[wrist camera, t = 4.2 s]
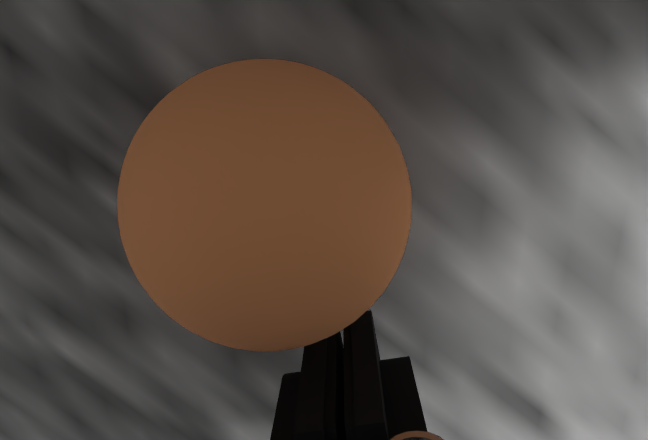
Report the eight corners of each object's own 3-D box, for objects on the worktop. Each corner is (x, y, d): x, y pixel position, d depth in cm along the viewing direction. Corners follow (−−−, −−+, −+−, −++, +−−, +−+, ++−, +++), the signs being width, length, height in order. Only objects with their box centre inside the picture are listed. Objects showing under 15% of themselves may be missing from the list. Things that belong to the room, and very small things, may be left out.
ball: (210, 391, 10) (205, 190, 13) (448, 344, 10) (393, 139, 12) (6, 349, 6) (61, 44, 8) (445, 249, 5) (355, -56, 7)
